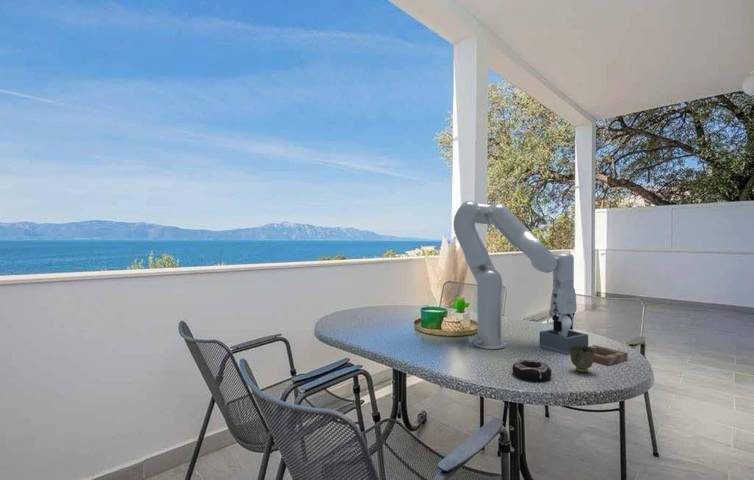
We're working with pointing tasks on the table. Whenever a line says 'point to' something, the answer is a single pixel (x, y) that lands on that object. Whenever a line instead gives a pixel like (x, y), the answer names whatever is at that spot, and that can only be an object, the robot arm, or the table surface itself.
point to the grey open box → (562, 340)
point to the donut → (531, 370)
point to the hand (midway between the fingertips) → (563, 329)
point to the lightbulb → (565, 325)
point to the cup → (582, 357)
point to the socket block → (608, 355)
